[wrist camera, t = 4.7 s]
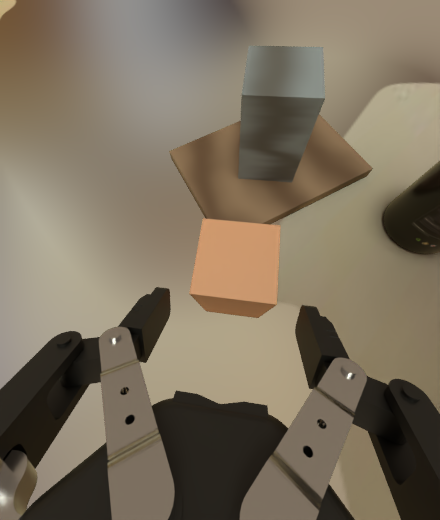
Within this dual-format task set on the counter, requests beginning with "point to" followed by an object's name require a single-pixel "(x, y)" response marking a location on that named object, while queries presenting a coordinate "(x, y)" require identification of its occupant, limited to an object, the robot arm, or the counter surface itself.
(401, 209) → the supplement bottle
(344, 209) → the counter surface
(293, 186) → the tower base
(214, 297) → the terracotta block
